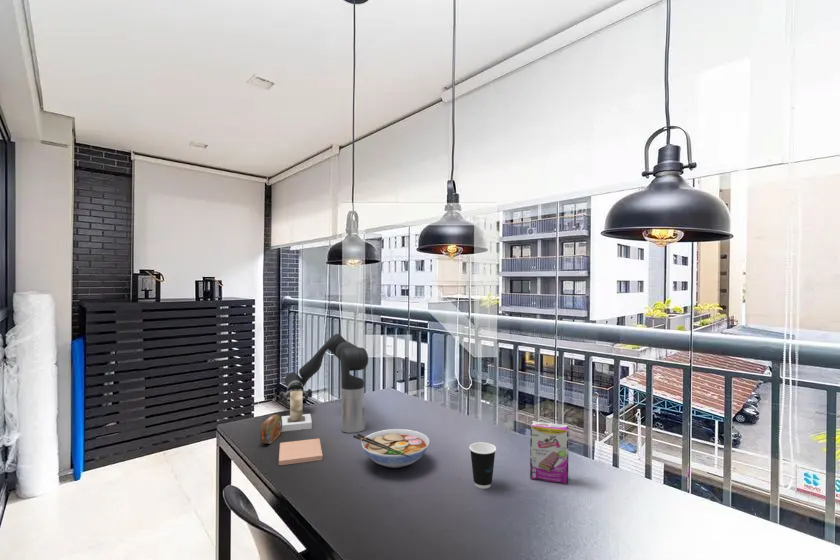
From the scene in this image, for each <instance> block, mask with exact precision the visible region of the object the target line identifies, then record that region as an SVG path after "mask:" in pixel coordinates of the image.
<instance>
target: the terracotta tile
mask: <svg viewBox="0 0 840 560" xmlns="http://www.w3.org/2000/svg"><path fill="white" fill-rule="evenodd" d="M278 452H279V453H278V455H279V456H278V466H279V465H280V466H286V465H293V464H294V465H295V464H301V463H309V462H315V461H323V458H324V457H323V451H322V444H321V440H320V438H313V439H312V438H311V439H303V440H294V441H284V442H283V441H282V442H280V443H279V451H278Z"/></svg>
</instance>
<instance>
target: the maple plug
mask: <svg viewBox="0 0 840 560" xmlns="http://www.w3.org/2000/svg"><path fill="white" fill-rule="evenodd" d="M289 406H290V407H289V416H290V423H292V422H302V414H303V398H302V391H292V392H290V399H289Z"/></svg>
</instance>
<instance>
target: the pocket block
mask: <svg viewBox="0 0 840 560" xmlns="http://www.w3.org/2000/svg"><path fill="white" fill-rule="evenodd" d="M281 418H282V430H281V433H282V432H283V433H284V432H294V431H300V430H302V429H303V430H310V429H311V430H312V428H313V425H312V424H313V423H312V422H313V421H312V416H311V413H304V414H303V413H302V422H292V423H290V415H282V416H281Z"/></svg>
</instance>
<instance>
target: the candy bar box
mask: <svg viewBox="0 0 840 560" xmlns="http://www.w3.org/2000/svg"><path fill="white" fill-rule="evenodd" d="M569 431H570V428H569V425H568V424H562V423H561V424H560V423H554V422H552V423H550V422H544V421H535V420H532V421H531V423H530V440H529V441H530V447H529V448H530V451H529V452H530V454H529V455H530V457H529V458H530V461H529V462H530V463H529V465H530V466H529V478H530V479H532V480H537V481H543V482H544V481H545V482H551V483H557V484H564V485H569V455H570V454H569V451H570V449H569V445H570V444H569V439H570V438H569V437H570V435H569V434H570V433H569Z"/></svg>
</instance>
